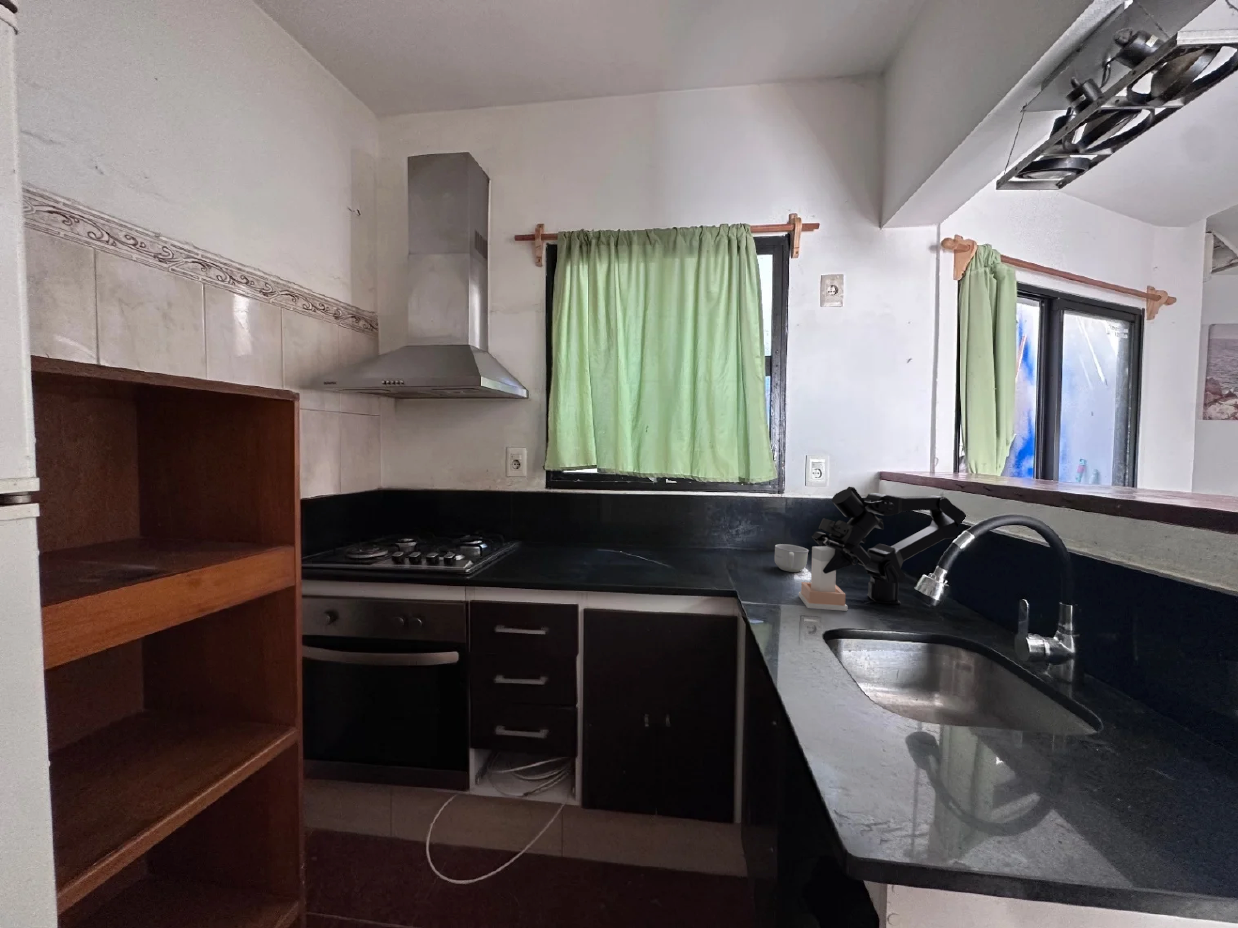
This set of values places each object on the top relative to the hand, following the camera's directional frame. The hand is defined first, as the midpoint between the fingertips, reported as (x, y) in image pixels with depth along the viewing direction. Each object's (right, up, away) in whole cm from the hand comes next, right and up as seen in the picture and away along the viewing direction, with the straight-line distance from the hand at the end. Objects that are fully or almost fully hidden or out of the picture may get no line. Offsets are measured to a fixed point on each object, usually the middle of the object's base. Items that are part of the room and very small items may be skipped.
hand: (818, 569), depth 127 cm
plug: (+1, -7, +1) cm, 7 cm away
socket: (+1, -9, +1) cm, 9 cm away
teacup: (+4, -8, +33) cm, 34 cm away
